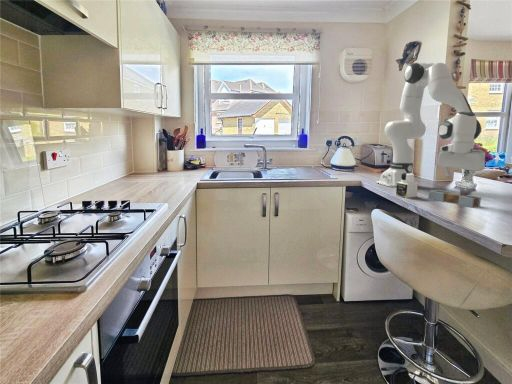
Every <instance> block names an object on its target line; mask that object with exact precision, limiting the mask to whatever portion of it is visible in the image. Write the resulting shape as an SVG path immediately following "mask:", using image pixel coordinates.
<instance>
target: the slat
mask: <svg viewBox="0 0 512 384" xmlns="http://www.w3.org/2000/svg"><path fill="white" fill-rule="evenodd" d="M442 193H445V194H444V201H443V202H447V203H452V204H456V205H458V202H459V196H463V197H468V196H466V195H462V194H456V193H453V192H452V193H446V192H442ZM468 198H474V197H468ZM477 200H478V198H474V201H473V207H472V208H474V207H478V206H477Z"/></svg>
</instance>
